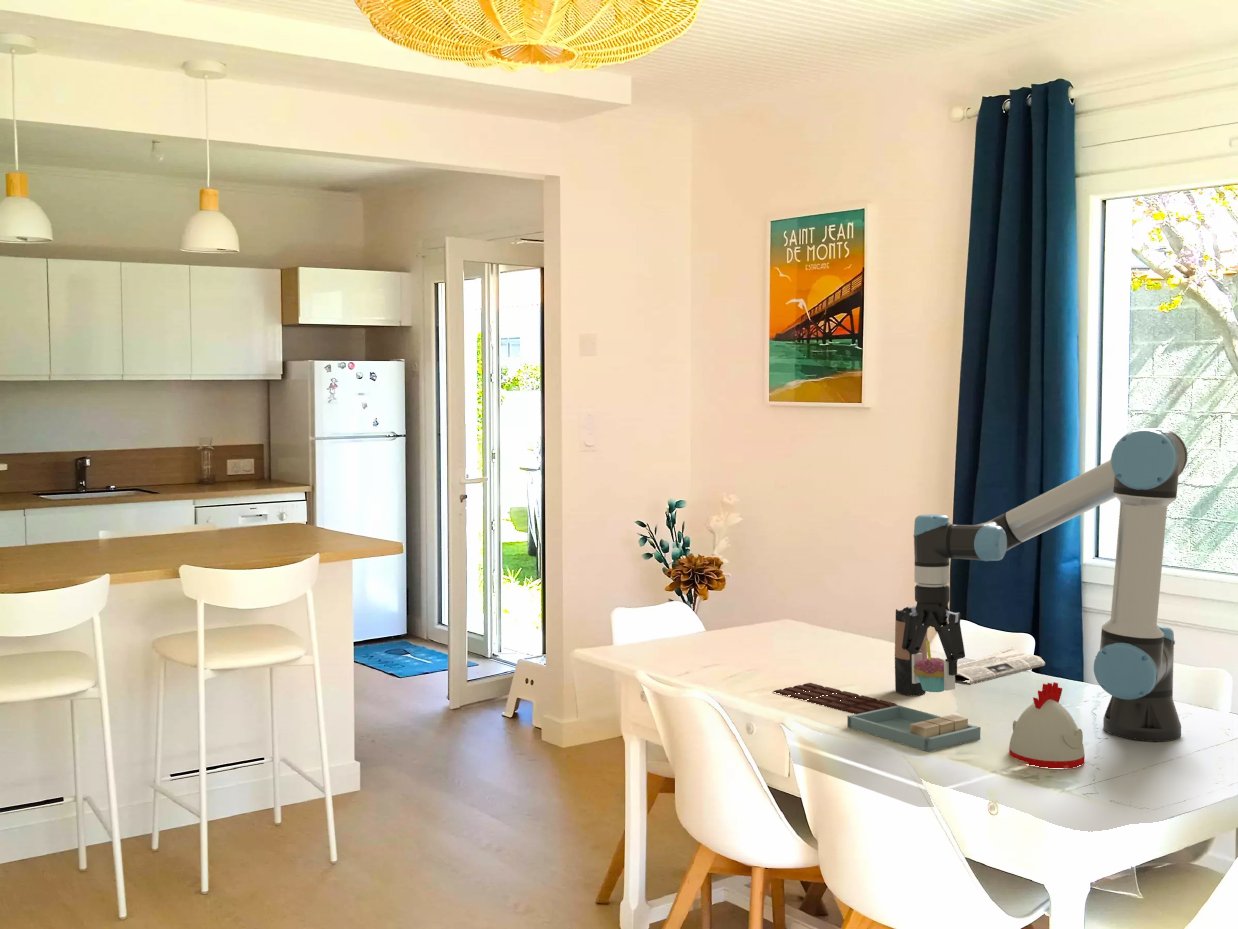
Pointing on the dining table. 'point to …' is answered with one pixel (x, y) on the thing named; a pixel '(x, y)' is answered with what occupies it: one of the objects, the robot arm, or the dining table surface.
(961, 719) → the block
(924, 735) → the block
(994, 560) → the robot arm
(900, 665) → the travel mug
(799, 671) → the dining table surface
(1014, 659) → the newspaper
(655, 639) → the dining table surface
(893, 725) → the tray
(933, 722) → the block
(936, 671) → the cupcake
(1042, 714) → the kitchen timer
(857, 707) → the chocolate bar
